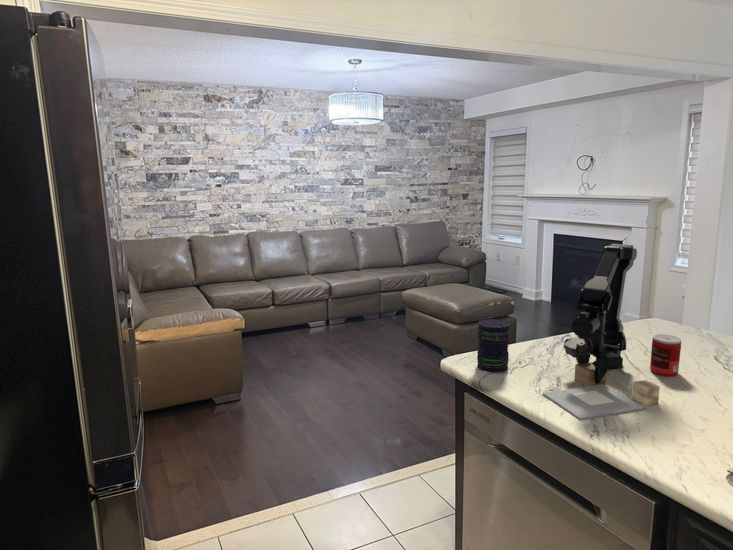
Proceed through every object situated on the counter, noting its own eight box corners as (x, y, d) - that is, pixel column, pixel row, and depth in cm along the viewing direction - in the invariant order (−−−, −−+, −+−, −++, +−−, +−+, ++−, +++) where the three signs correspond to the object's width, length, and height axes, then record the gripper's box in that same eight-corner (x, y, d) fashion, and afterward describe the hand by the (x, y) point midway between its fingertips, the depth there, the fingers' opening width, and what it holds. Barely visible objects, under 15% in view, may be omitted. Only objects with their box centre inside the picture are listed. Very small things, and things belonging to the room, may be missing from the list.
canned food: (674, 368, 160) (678, 335, 157) (681, 378, 152) (684, 343, 150) (647, 366, 162) (650, 333, 160) (652, 375, 155) (655, 341, 153)
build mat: (602, 385, 148) (602, 384, 148) (645, 409, 133) (645, 407, 133) (542, 394, 143) (542, 392, 143) (580, 419, 128) (580, 418, 128)
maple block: (644, 397, 140) (646, 379, 139) (658, 403, 136) (659, 386, 135) (631, 399, 139) (632, 381, 138) (644, 406, 135) (645, 388, 134)
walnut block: (591, 377, 154) (592, 362, 153) (605, 385, 148) (606, 369, 147) (574, 380, 152) (575, 364, 151) (588, 387, 147) (589, 371, 146)
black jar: (470, 366, 165) (471, 322, 162) (490, 359, 171) (491, 316, 168) (495, 375, 157) (496, 329, 154) (514, 368, 163) (516, 323, 160)
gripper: (549, 322, 154) (547, 371, 157) (591, 341, 136) (588, 395, 139) (581, 319, 157) (578, 367, 160) (626, 337, 139) (622, 390, 142)
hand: (589, 379), depth 150 cm, fingers closed on walnut block, 6 cm apart
